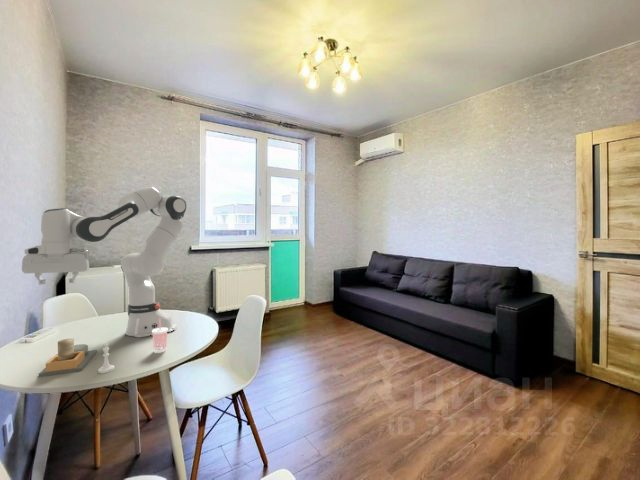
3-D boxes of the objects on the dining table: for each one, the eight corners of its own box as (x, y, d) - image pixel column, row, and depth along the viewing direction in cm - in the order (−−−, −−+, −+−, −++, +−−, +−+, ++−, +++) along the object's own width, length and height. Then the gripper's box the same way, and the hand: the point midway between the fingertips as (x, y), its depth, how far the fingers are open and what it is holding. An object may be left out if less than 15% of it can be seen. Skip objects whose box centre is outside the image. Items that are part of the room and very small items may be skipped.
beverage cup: (165, 353, 121) (165, 319, 120) (149, 354, 120) (149, 320, 119) (170, 347, 127) (170, 315, 126) (155, 348, 126) (155, 316, 125)
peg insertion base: (96, 352, 121) (96, 342, 121) (81, 370, 105) (81, 359, 105) (60, 356, 116) (60, 346, 116) (38, 376, 100) (38, 365, 100)
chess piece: (103, 367, 108) (103, 340, 108) (117, 366, 108) (117, 340, 108) (94, 373, 103) (94, 345, 103) (109, 373, 104) (108, 345, 103)
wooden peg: (76, 361, 110) (75, 337, 110) (71, 366, 106) (71, 342, 106) (61, 363, 108) (60, 339, 108) (55, 368, 104) (55, 343, 104)
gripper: (91, 248, 122) (92, 280, 123) (28, 248, 115) (28, 283, 115) (86, 249, 117) (86, 283, 117) (18, 249, 109) (19, 286, 109)
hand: (57, 283), depth 116 cm, fingers open, 8 cm apart
